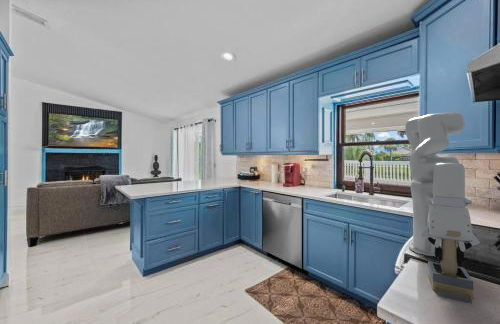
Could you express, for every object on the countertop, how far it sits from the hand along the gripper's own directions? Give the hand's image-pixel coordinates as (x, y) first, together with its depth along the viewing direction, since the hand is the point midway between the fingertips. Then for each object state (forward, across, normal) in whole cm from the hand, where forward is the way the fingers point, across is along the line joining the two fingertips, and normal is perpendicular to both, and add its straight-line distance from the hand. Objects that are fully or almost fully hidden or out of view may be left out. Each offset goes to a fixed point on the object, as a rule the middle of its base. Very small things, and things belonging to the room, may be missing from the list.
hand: (448, 260), depth 70 cm
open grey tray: (+8, 0, 0) cm, 8 cm away
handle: (+5, 0, 0) cm, 5 cm away
